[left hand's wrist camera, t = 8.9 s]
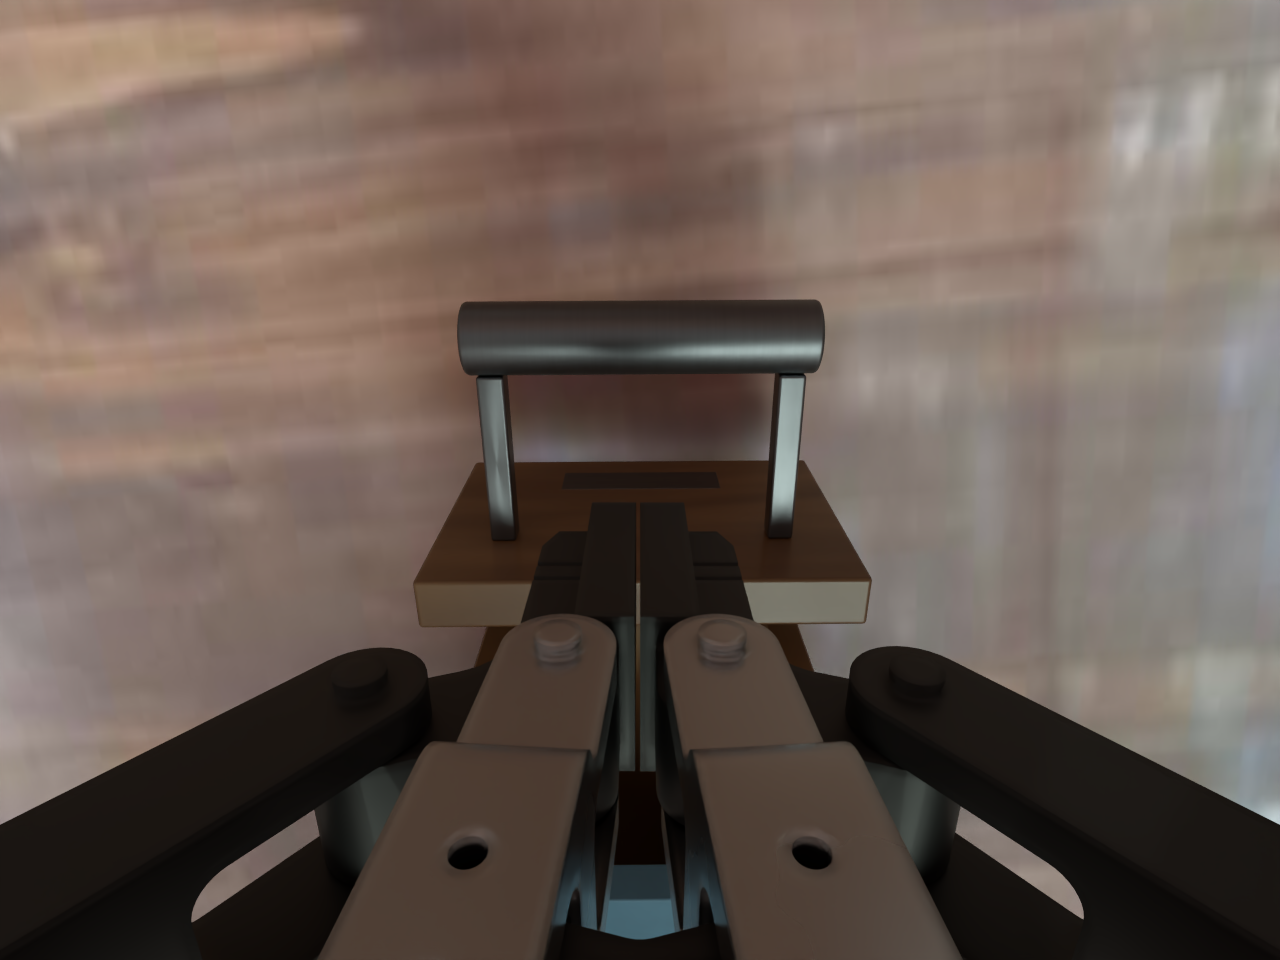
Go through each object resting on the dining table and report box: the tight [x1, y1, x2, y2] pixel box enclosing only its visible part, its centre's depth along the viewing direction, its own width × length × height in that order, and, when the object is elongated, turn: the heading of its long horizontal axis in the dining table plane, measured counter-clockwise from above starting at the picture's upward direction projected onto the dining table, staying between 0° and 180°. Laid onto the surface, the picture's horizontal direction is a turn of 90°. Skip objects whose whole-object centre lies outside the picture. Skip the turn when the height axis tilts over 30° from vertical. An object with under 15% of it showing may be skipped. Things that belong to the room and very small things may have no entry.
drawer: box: [413, 300, 872, 865], centre depth 22 cm, size 25×10×7 cm, turn 0°
